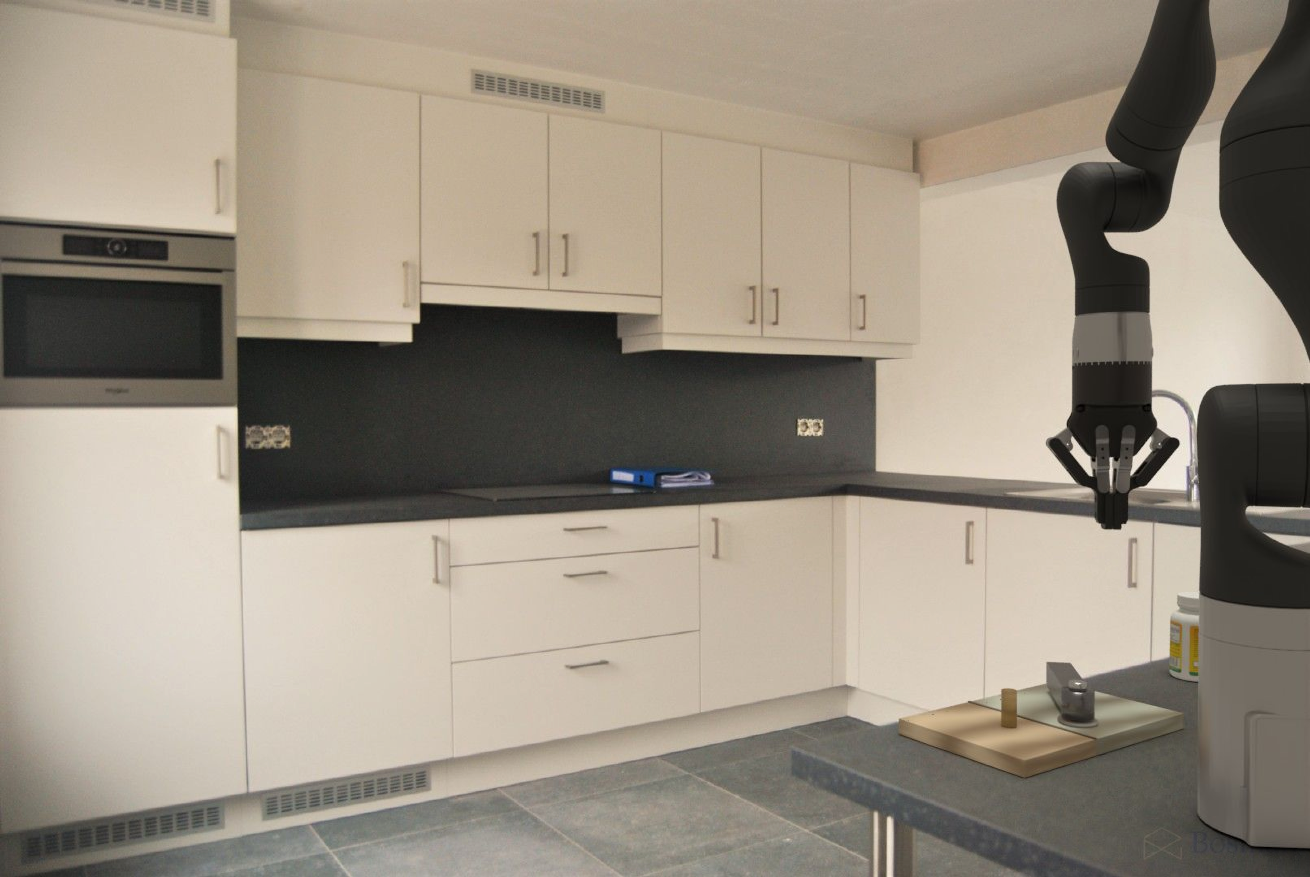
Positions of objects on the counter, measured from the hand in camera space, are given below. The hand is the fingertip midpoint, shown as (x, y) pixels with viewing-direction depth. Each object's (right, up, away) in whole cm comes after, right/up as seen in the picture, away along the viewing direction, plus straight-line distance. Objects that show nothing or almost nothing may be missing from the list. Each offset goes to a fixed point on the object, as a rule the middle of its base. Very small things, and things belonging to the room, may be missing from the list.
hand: (1110, 528), depth 108 cm
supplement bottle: (+16, -19, +14) cm, 28 cm away
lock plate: (-9, -19, -5) cm, 22 cm away
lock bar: (-6, -17, -3) cm, 18 cm away
